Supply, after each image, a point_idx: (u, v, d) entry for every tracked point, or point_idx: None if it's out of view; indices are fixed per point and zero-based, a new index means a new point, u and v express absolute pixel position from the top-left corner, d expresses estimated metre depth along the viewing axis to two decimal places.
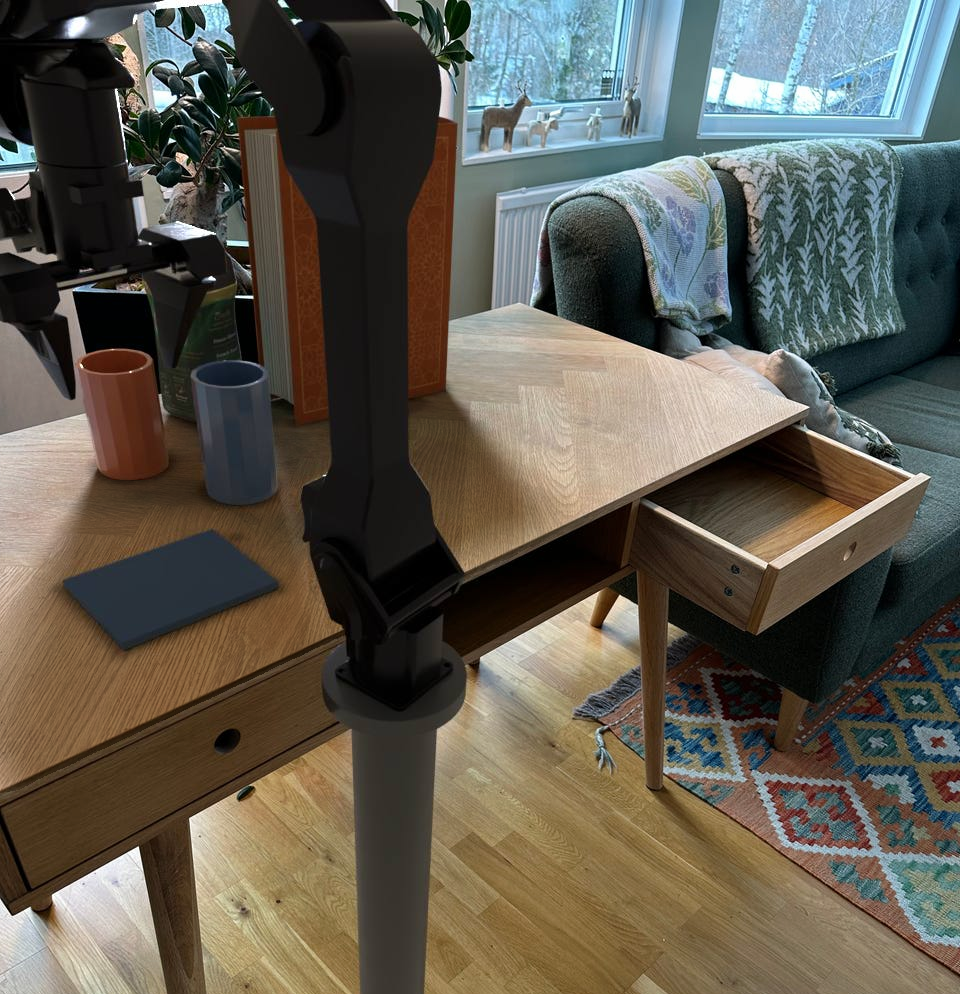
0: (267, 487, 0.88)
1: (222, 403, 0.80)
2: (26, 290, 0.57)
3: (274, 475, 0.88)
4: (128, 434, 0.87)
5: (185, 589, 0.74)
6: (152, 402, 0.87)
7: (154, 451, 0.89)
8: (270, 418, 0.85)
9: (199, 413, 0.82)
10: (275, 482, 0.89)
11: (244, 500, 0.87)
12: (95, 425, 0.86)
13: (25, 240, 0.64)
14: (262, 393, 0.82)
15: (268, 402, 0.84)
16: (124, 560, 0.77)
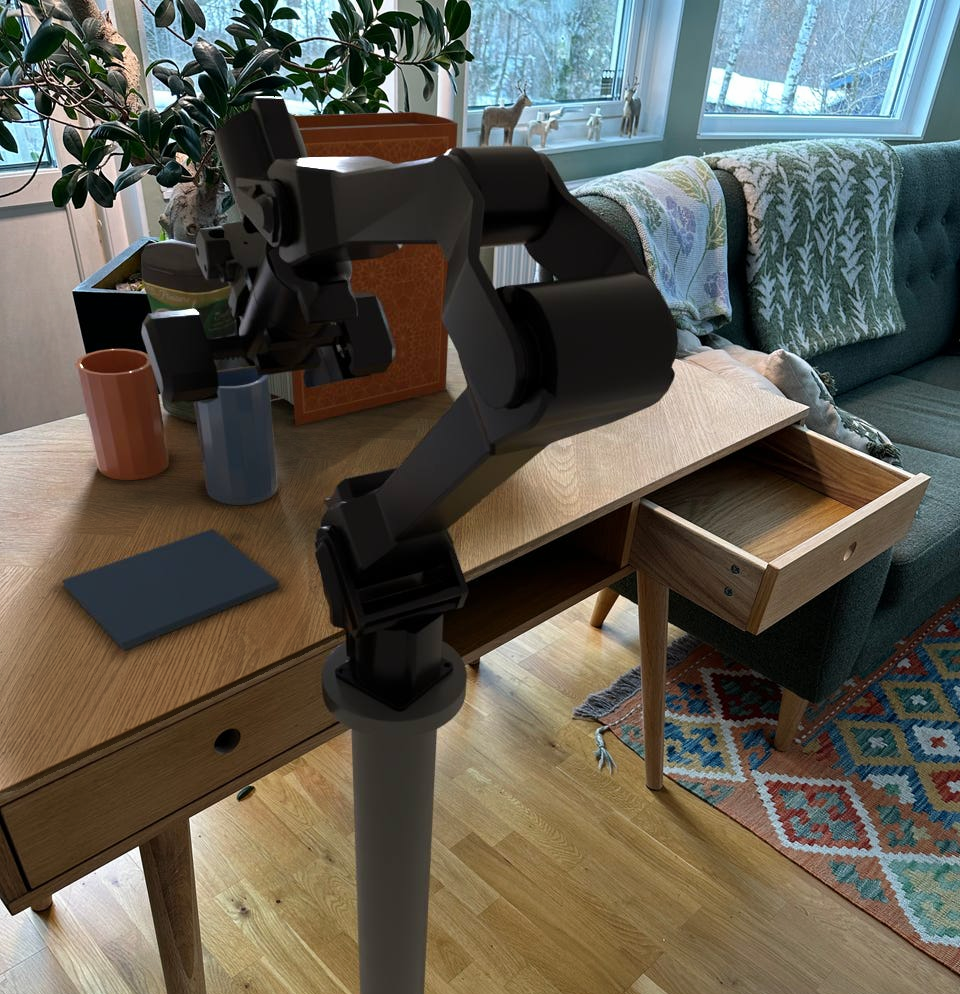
0: (267, 487, 0.88)
1: (222, 403, 0.80)
2: (189, 389, 0.64)
3: (274, 475, 0.88)
4: (128, 434, 0.87)
5: (185, 589, 0.74)
6: (152, 402, 0.87)
7: (154, 451, 0.89)
8: (270, 418, 0.85)
9: (199, 413, 0.82)
10: (275, 482, 0.89)
11: (244, 500, 0.87)
12: (95, 425, 0.86)
13: None
14: (262, 393, 0.82)
15: (268, 402, 0.84)
16: (124, 560, 0.77)
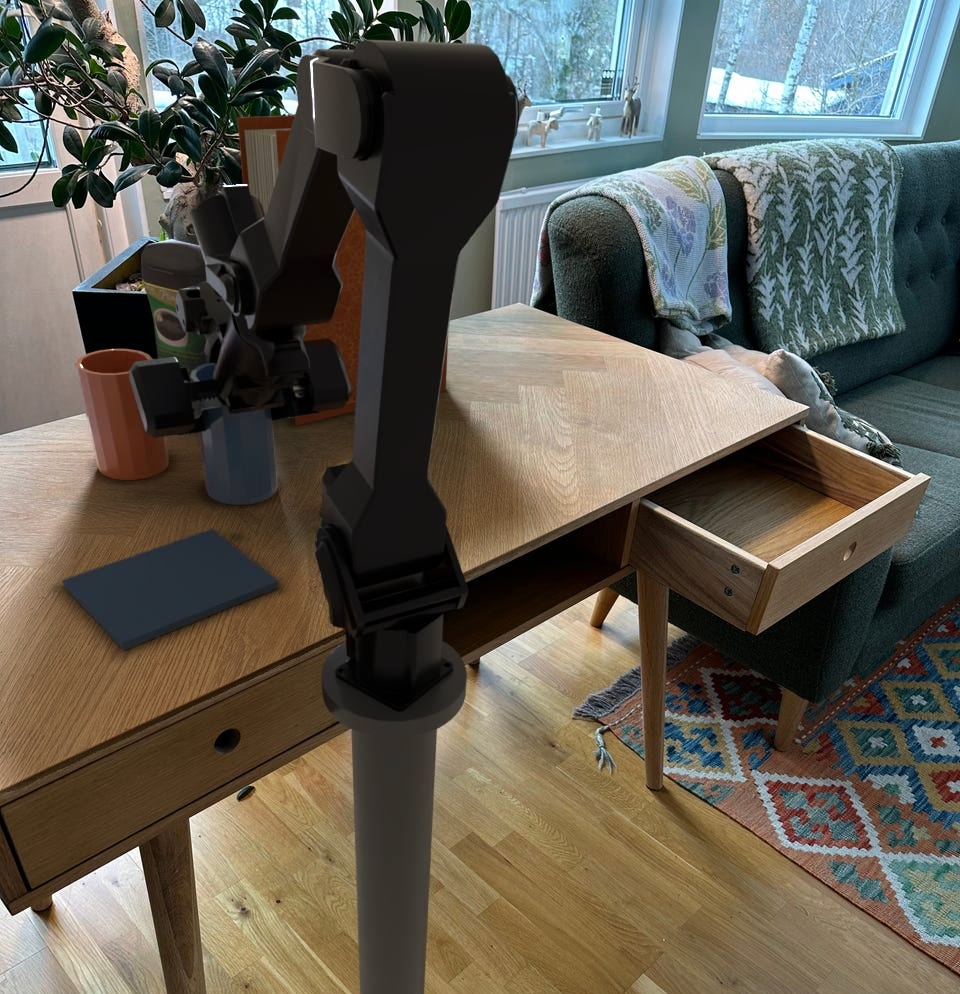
0: (267, 487, 0.88)
1: None
2: (169, 427, 0.75)
3: (274, 475, 0.88)
4: (128, 434, 0.87)
5: (185, 589, 0.74)
6: None
7: (154, 451, 0.89)
8: (270, 418, 0.85)
9: None
10: (275, 482, 0.89)
11: (244, 500, 0.87)
12: (95, 425, 0.86)
13: None
14: None
15: None
16: (124, 560, 0.77)
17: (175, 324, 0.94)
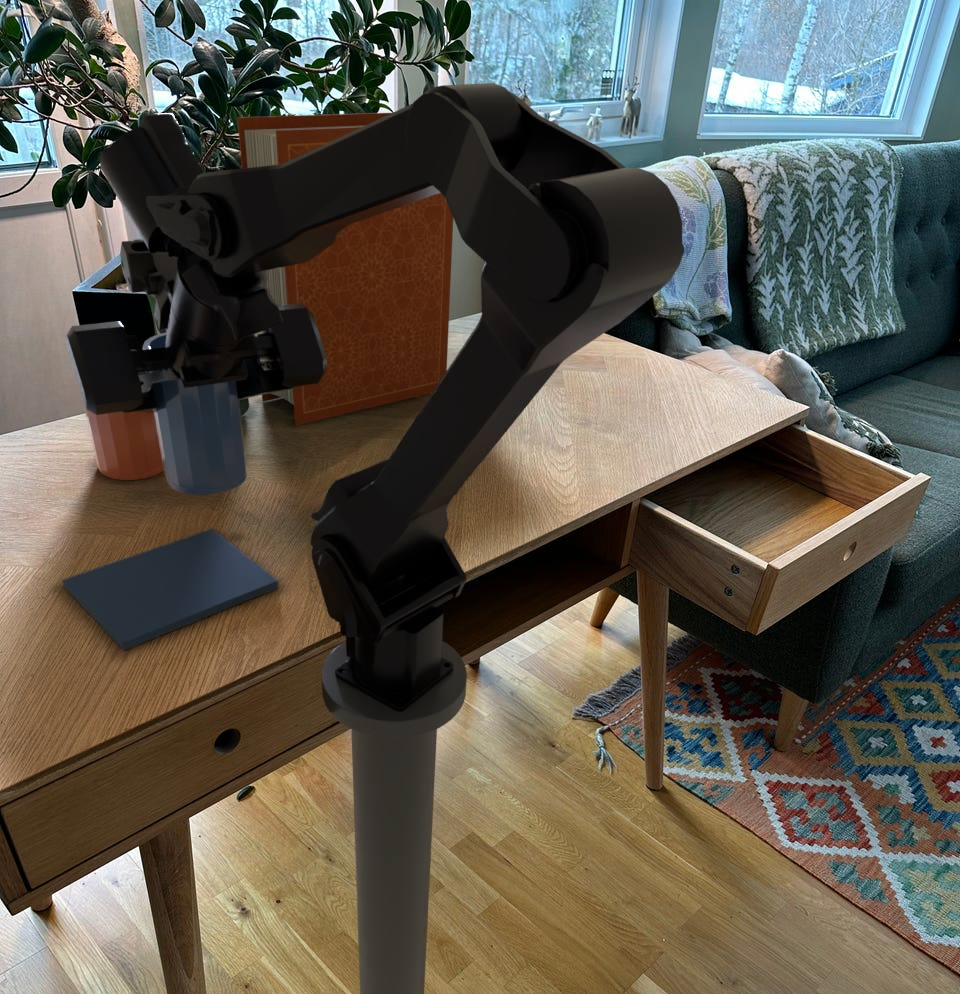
0: (234, 475, 0.77)
1: None
2: (112, 401, 0.64)
3: (242, 461, 0.78)
4: (128, 434, 0.87)
5: (185, 589, 0.74)
6: None
7: (154, 451, 0.89)
8: (236, 395, 0.74)
9: (153, 389, 0.72)
10: (243, 469, 0.78)
11: (207, 489, 0.76)
12: (95, 425, 0.86)
13: None
14: None
15: None
16: (124, 560, 0.77)
17: None
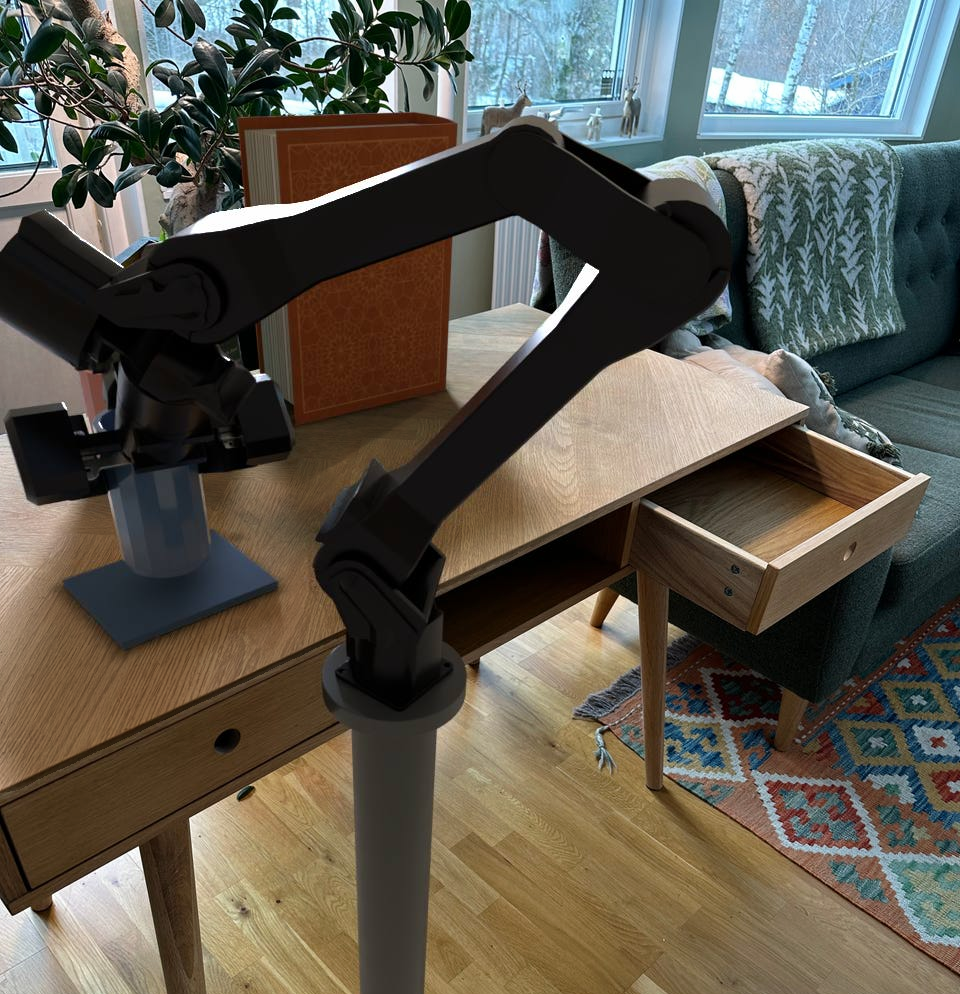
0: (196, 555, 0.71)
1: None
2: (55, 493, 0.58)
3: (205, 540, 0.72)
4: None
5: (185, 589, 0.74)
6: None
7: None
8: (196, 472, 0.68)
9: None
10: (207, 548, 0.72)
11: (167, 572, 0.70)
12: None
13: None
14: None
15: None
16: None
17: None
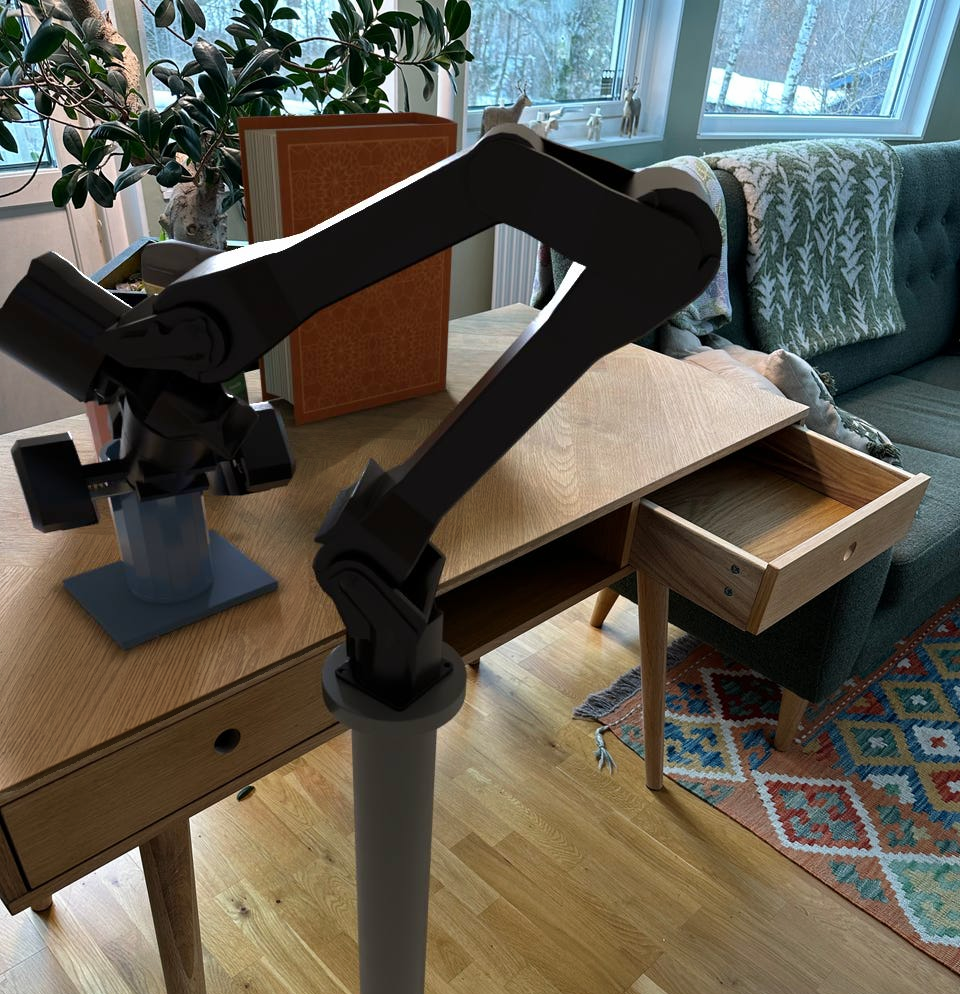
0: (199, 582, 0.72)
1: None
2: (61, 521, 0.60)
3: (208, 566, 0.73)
4: None
5: None
6: None
7: None
8: (200, 501, 0.70)
9: (110, 498, 0.67)
10: (210, 574, 0.74)
11: (170, 598, 0.72)
12: (95, 425, 0.86)
13: None
14: None
15: None
16: None
17: None
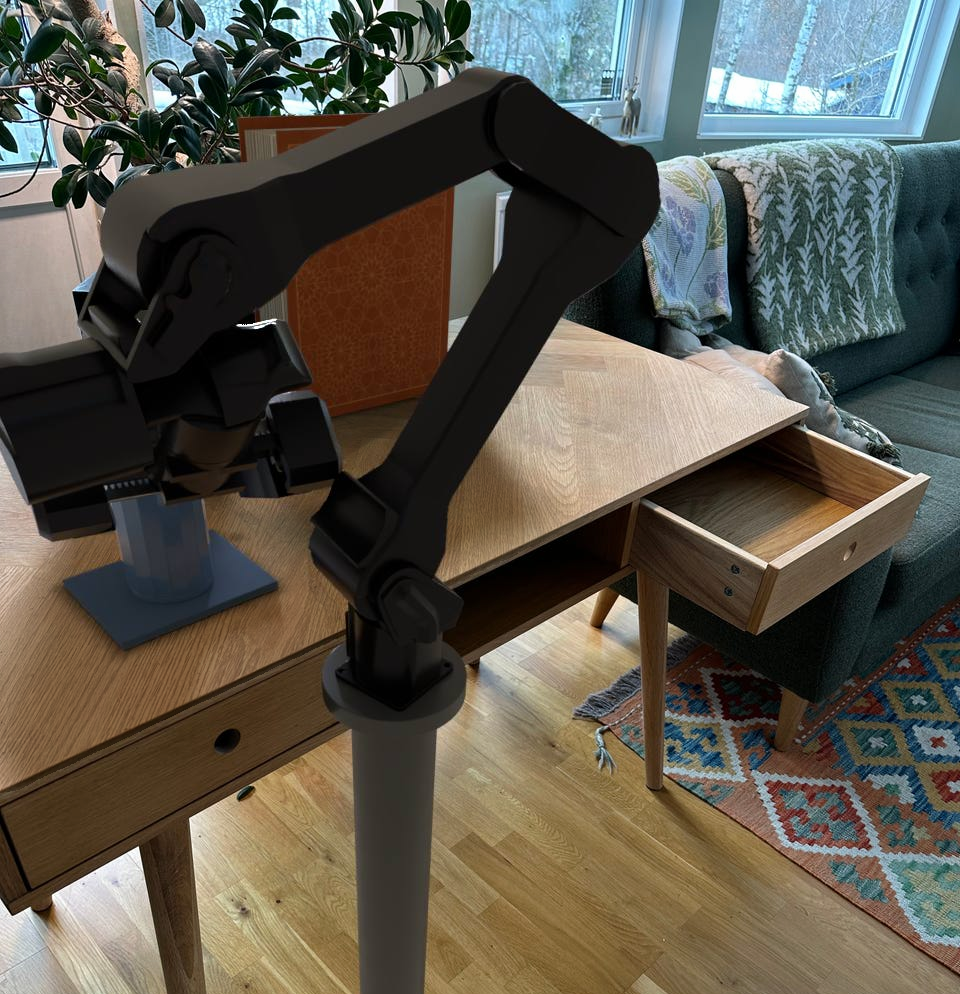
0: (199, 582, 0.72)
1: None
2: (72, 528, 0.50)
3: (208, 566, 0.73)
4: None
5: None
6: None
7: None
8: (200, 501, 0.70)
9: None
10: (210, 574, 0.74)
11: (170, 598, 0.72)
12: None
13: None
14: None
15: None
16: None
17: None
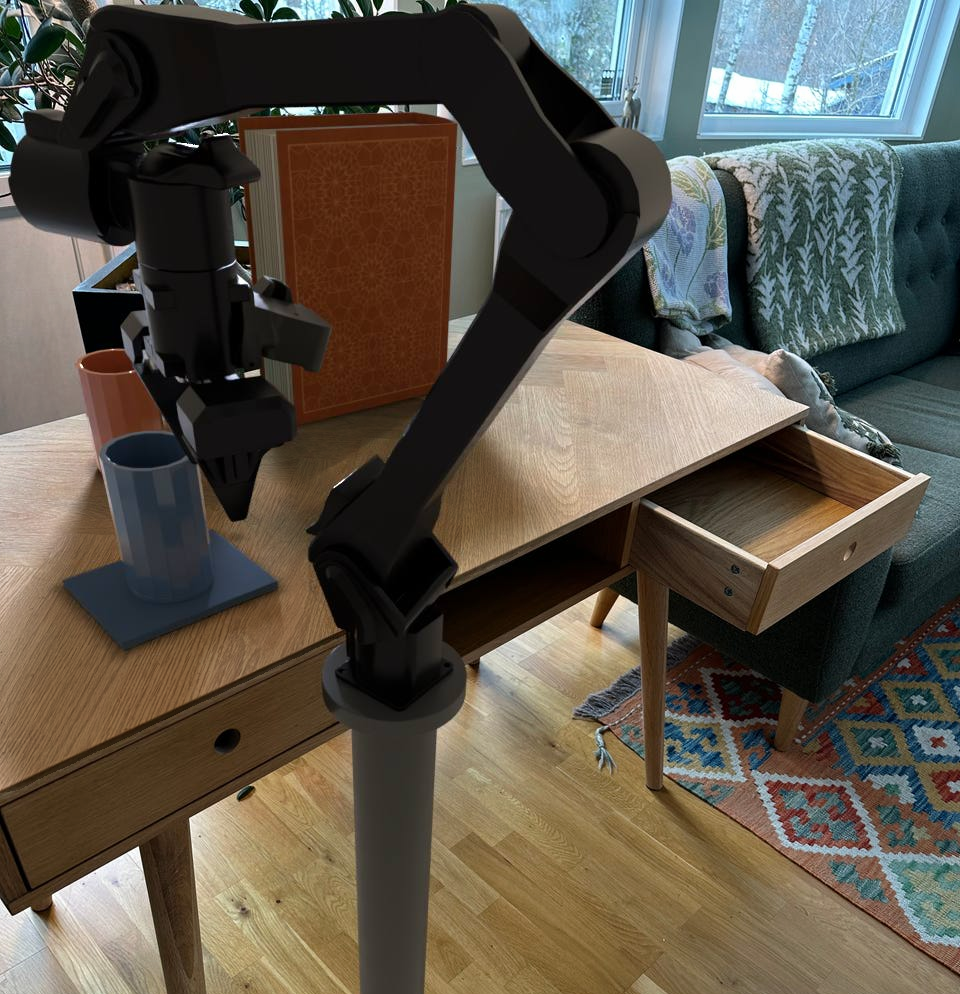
0: (199, 582, 0.72)
1: (136, 488, 0.65)
2: (125, 331, 0.61)
3: (208, 566, 0.73)
4: None
5: None
6: (152, 402, 0.87)
7: None
8: (200, 501, 0.70)
9: (110, 498, 0.67)
10: (210, 574, 0.74)
11: (170, 598, 0.72)
12: (95, 425, 0.86)
13: None
14: (187, 474, 0.67)
15: (196, 483, 0.69)
16: None
17: None
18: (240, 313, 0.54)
